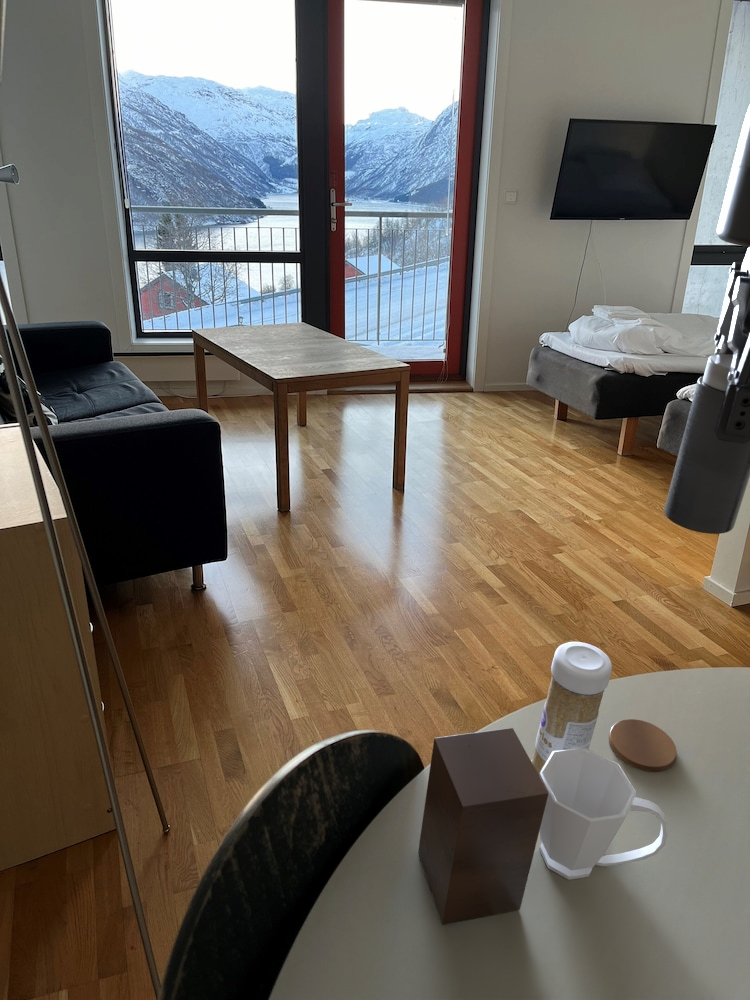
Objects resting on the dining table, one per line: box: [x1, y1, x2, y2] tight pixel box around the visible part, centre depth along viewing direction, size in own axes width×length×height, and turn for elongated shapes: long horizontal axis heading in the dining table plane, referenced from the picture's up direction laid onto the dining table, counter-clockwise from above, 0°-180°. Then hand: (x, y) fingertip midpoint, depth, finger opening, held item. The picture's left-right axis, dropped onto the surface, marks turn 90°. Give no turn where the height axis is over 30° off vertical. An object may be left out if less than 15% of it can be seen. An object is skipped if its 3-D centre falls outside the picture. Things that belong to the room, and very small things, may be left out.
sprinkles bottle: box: [530, 641, 613, 775], centre depth 62 cm, size 5×5×13 cm
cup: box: [538, 748, 668, 881], centre depth 56 cm, size 7×10×8 cm
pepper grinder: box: [663, 354, 750, 535], centre depth 53 cm, size 5×5×12 cm
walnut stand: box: [417, 727, 549, 926], centre depth 53 cm, size 6×6×12 cm
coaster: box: [608, 718, 678, 772], centre depth 69 cm, size 6×6×1 cm
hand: (725, 425), depth 52 cm, fingers closed on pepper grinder, 5 cm apart
